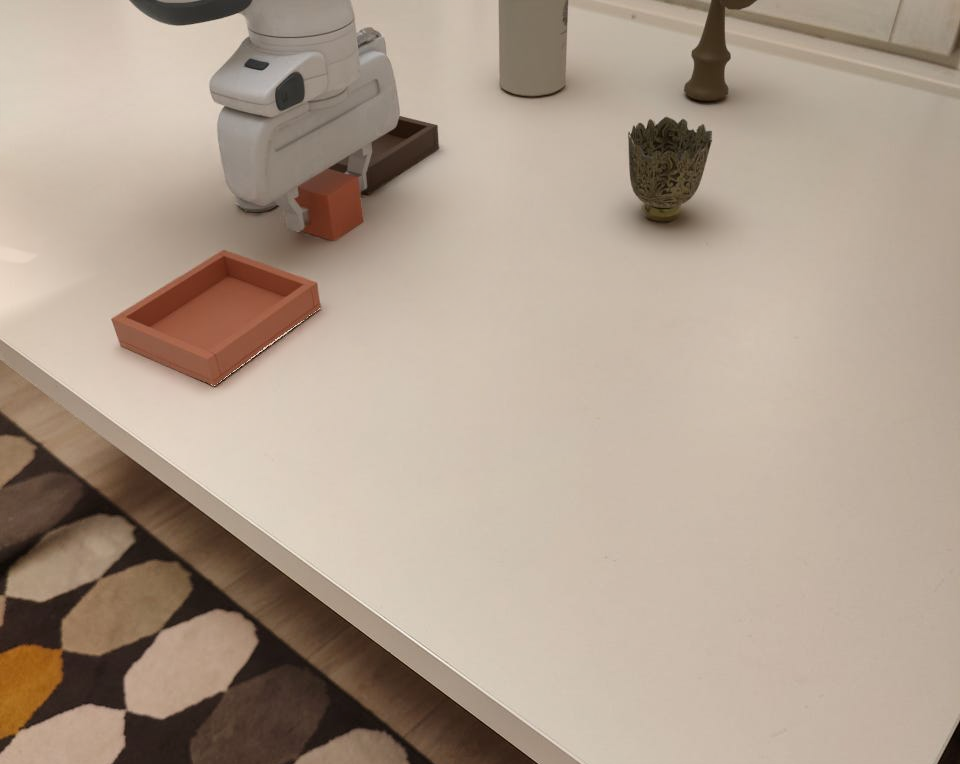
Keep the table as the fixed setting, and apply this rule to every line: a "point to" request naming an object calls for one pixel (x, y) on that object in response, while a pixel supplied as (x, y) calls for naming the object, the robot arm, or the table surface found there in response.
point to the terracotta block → (331, 203)
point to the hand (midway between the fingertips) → (328, 208)
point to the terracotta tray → (216, 315)
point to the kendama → (712, 54)
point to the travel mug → (532, 46)
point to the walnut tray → (397, 151)
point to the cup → (666, 165)
